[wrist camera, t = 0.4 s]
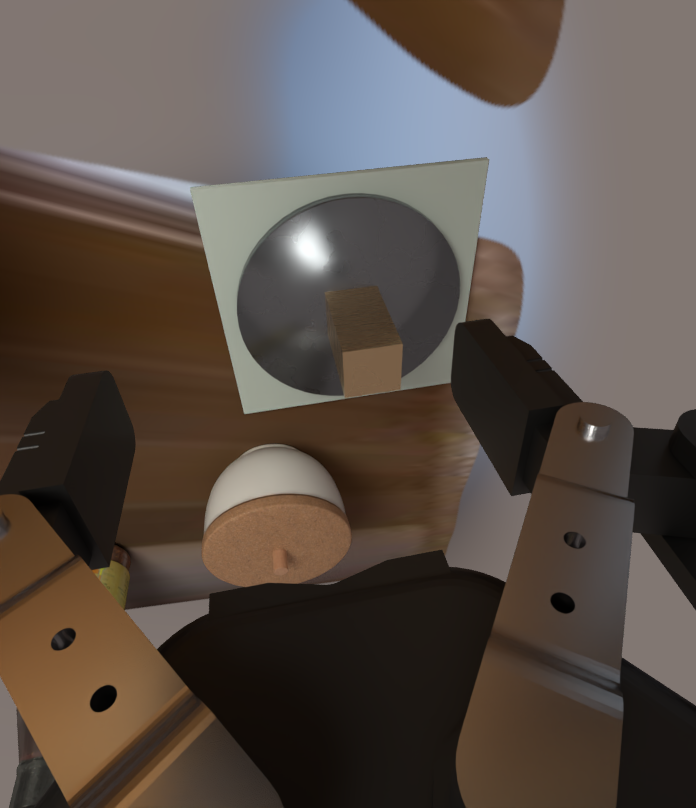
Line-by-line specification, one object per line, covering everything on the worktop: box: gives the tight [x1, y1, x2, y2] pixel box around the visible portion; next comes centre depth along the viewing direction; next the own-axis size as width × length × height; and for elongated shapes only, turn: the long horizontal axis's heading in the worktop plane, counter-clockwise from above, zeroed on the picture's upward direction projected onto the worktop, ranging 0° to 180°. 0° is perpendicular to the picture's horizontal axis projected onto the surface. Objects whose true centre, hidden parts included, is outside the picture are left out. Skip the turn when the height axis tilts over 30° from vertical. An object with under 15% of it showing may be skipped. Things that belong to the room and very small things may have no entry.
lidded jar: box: [202, 444, 352, 587], centre depth 39 cm, size 11×11×9 cm
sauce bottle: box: [9, 545, 131, 808], centre depth 39 cm, size 7×6×20 cm
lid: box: [237, 193, 460, 398], centre depth 30 cm, size 14×14×7 cm
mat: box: [190, 157, 489, 414], centre depth 33 cm, size 16×16×1 cm
